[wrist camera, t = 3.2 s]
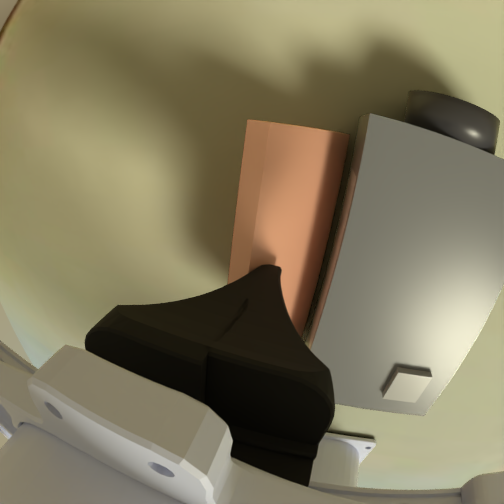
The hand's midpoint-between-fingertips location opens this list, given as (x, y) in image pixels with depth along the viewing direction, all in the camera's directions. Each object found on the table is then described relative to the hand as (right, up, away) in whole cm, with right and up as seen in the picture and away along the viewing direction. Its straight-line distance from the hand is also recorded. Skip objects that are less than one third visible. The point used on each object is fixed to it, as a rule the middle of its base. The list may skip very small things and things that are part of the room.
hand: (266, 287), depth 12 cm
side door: (+3, +2, +5) cm, 6 cm away
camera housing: (+8, +1, +4) cm, 9 cm away
